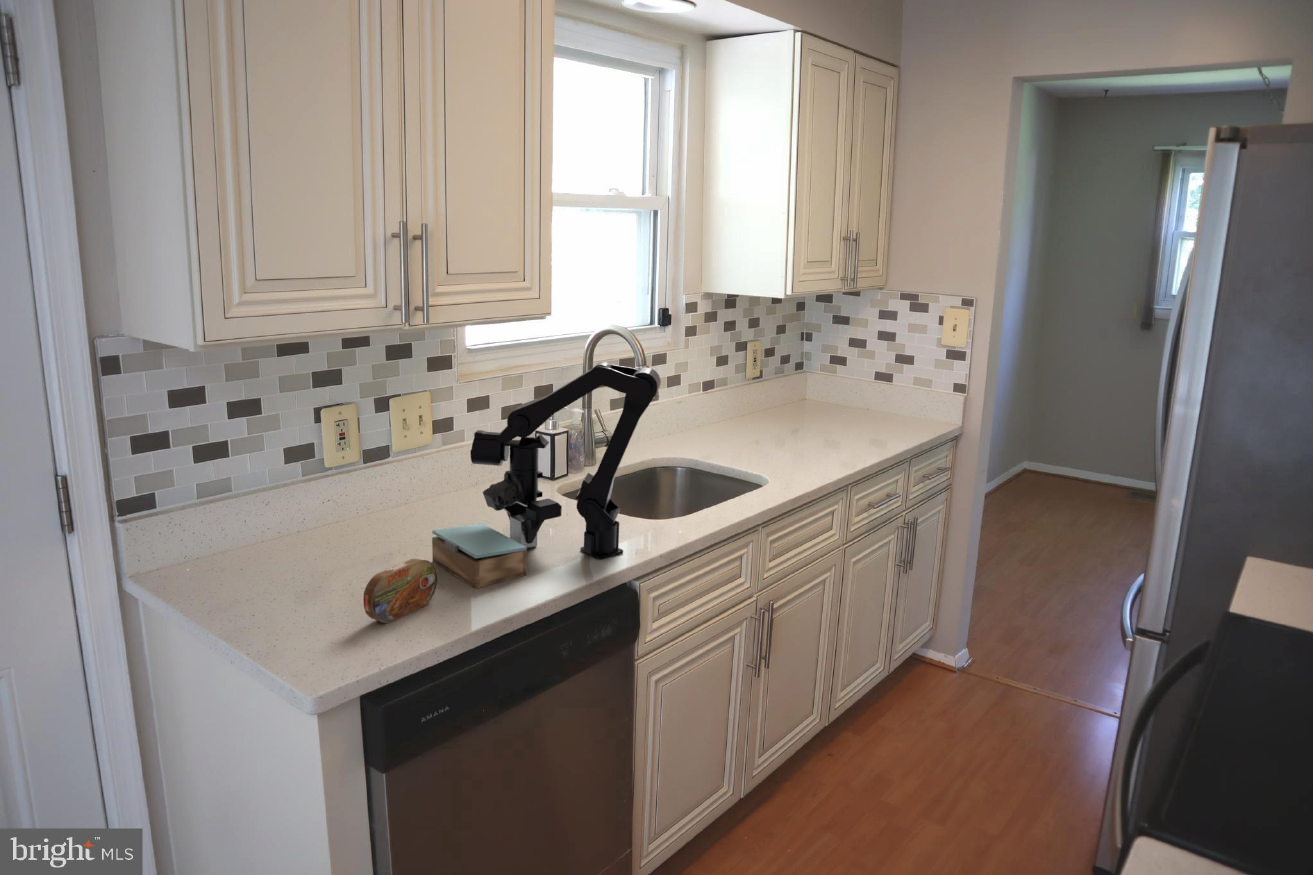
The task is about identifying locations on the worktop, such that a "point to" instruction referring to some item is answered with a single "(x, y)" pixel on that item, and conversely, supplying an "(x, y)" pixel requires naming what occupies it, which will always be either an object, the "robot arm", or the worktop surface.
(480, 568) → the box
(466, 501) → the worktop surface
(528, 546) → the block
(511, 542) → the lid
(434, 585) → the tin
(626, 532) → the worktop surface
